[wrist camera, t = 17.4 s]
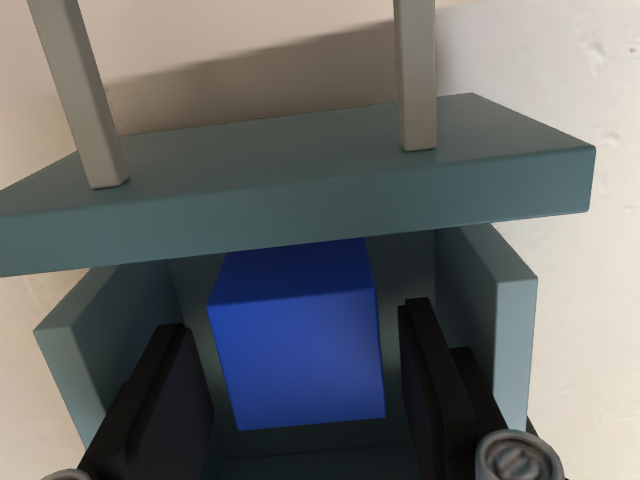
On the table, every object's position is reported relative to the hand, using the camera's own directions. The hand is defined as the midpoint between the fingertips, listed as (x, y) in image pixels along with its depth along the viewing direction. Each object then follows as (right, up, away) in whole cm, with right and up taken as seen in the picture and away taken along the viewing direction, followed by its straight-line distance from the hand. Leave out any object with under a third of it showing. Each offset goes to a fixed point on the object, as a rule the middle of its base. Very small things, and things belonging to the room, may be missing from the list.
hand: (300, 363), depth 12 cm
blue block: (0, +2, +4) cm, 4 cm away
